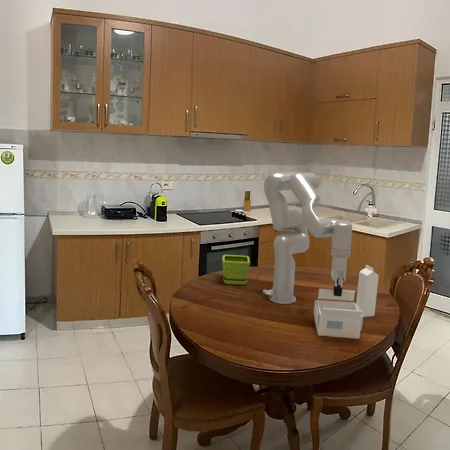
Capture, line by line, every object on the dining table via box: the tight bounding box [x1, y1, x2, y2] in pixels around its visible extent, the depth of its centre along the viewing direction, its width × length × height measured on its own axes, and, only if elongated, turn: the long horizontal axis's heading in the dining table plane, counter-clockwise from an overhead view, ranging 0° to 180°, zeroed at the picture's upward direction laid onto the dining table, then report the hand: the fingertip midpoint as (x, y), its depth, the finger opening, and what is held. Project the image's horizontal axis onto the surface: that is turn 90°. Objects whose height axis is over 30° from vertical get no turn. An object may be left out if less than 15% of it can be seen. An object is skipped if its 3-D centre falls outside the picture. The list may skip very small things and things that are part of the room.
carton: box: [313, 299, 364, 340], centre depth 199 cm, size 17×16×9 cm
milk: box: [355, 264, 380, 318], centre depth 215 cm, size 6×6×22 cm
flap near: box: [322, 308, 363, 318], centre depth 188 cm, size 15×5×1 cm
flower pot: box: [221, 254, 251, 286], centre depth 253 cm, size 14×14×13 cm
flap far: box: [317, 288, 356, 302], centre depth 205 cm, size 15×5×1 cm
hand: (337, 295), depth 202 cm, fingers closed
